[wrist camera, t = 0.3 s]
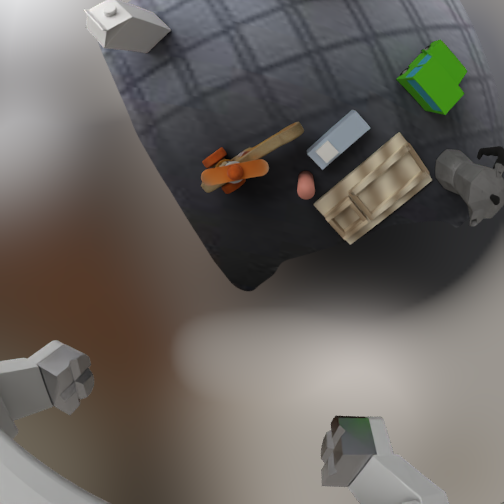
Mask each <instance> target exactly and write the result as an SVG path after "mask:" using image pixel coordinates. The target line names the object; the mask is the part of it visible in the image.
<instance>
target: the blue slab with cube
mask: <svg viewBox="0 0 504 504" xmlns="http://www.w3.org/2000/svg"><path fill="white" fill-rule="evenodd" d="M369 129H370V127H369V125H368V124H367V123H366V122H365V121H364V120H363V118H362V117H361V116H360V115H359V114H358V113H357V112H356V111H354V110H351V111H350V112H349V113H348V114H347V115H346V116H344V117H343V118H342V119H341V120H340V121H339V122H338V123H336V124H335V125H334V126H333V127H332V128H331V129H330V130H329V131H327V132H326V133H325V134H324V135H323V136H322V137H321V138H320V139H319V140H317V141H316V142H315V143H314V144H313V145H312V146H311V147H310V148H309V149H307V154H308V155H309V156H310V158H311V159H312V160H313V161H314V162H315V163H316V164H317V165H318V166H319V167H320V168H321V169H322V170H323V169H324V168H325V167H326V166H327V165H329V164H330V163H331V162H332V161H333V160H334V159H335V158H337V157H338V156H339V155H340V154H341V153H342V152H343V151H345V150H346V149H347V148H348V147H349V146H350V145H352V144H353V143H354V142H355V141H356V140H357V139H358V138H360V137H361V136H362V135H363V134H364V133H365V132H367V131H368V130H369Z"/></svg>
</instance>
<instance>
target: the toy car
mask: <svg viewBox="0 0 504 504" xmlns="http://www.w3.org/2000/svg"><path fill="white" fill-rule="evenodd" d="M421 51H422V52H421V54H420V55H419V56H418V57H417V58H416V59H415V60H414V61H413V62H412V63H411V64H410V65H409V66H408V67H409V68H407V69H405V70H404V71H403V72H402V73H401V74H400V76H399V77H398V78H397V79H396V80H397V81H398V82H399V83H400V84H401V85H402V86H403V87H404V88H405V89H406V90H407V91H408V92H409V93H410V94H411V95H412V97H413V98H414V99H415V100H416V101H417V102H418V103H419V104H420V105H421V107H422V108H423V109H424V110H425V111H429V112H434V113H439V114H443V115H446V114H447V113H448V111H449V110H450V109H451V108H452V107H453V106H454V105H455V104H456V103H457V101H458V100H459V99H460V98H461V97H462V96H463V95H464V92H463V91H462V90H461V88H460V87H459V86H458V85H459V83H460V82H461V80H462V79H463V77H464V76H465V74H466V73H467V70H466V69H465V67H464V66H463V65H462V64H461V62H460V61H459V60H458V59H457V58H456V56H455V55H454V54H453V53H452V52H451V51H450V49H449V48H448V47H447V46H446V45H445V44H444V43H443V42H442V41H441V40H438V41H434V42H432V43H431V44H430V45H429V46H428V47H426V48H425V49H423V50H421Z"/></svg>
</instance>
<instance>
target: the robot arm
mask: <svg viewBox="0 0 504 504" xmlns="http://www.w3.org/2000/svg"><path fill="white" fill-rule="evenodd" d="M90 365H91V363H90V359H89V357H88V356H87V355H86V354H84V353H82V352H80V351H77V350H75V349H74V348H72V347H70V346H68V345H65V344H63V343H61V342H59V341H57V340H56V341H52V342H50V343H49V344H47V345H46V346H45V347H43V348H42V349H40V350H39V351H38V352H36V353H35V354H33V355H32V356H31V357H29V358H28V359H26V358H19V359H13V360H6V361H0V504H111V503H109V502H107V501H105V500H102V499H101V498H99V497H97V496H95V495H93V494H91V493H90V492H88V491H86V490H84V489H82V488H81V487H79V486H77V485H76V484H74V483H72V482H71V481H69V480H67V479H66V478H64V477H63V476H61V475H59V474H58V473H57V472H55V471H54V470H52V469H51V468H49V467H48V466H46V465H45V464H44V463H42V462H41V461H39V460H38V459H37V458H35V457H34V456H33V455H32V454H30V453H29V452H28V451H26V450H25V449H24V448H23V447H21V446H20V445H19V444H18V443H17V442H15V441H14V440H13V438H14V437H15V436H16V435H17V434H18V429H17V427H16V425H15V424H14V422H13V421H14V420H17V419H20V418H23V417H26V416H28V415H31V414H34V413H37V412H39V411H42V410H45V409H48V408H51V407H53V406H54V407H56V408H58V409H60V410H61V411H63V412H65V413H67V414H69V415H71V414H72V412H74V411H75V409H76V408H77V407H78V406H79V405H80V399H83V398H86V397H88V395H89V394H90V393H91V391H92V388H93V386H94V377H93V374H92V372H91V371H90V369H89V367H90ZM52 405H53V406H52ZM321 459H322V460H323V462H324V463H325V465H324V466H323V468H322V486H339V487H340V486H341V487H348V489H349V490H350V491H351V493H352V494H353V495H354V497H355V498H356V499H357V500H358V502H359V503H360V504H449V502H448V498H447V495H446V492H444V491H443V490H442V489H441V488H439V487H438V486H437V485H435V484H434V483H433V482H432V481H431V480H429V479H428V478H427V477H426V476H424V475H423V474H422V473H421V472H419V471H418V470H417V469H416V468H414V467H413V466H412V465H411V464H409V463H408V462H407V461H406V460H405V459H404V458H402V457H401V456H400V455H399V454H394V453H393V449H392V446H391V442H390V439H389V436H388V432H387V429H386V426H385V422H384V419H383V418H382V417H355V416H335V418H333V420H332V422H331V430H330V431H329V432H327V433H326V435H325V437H324V439H323V443H322V448H321ZM501 504H504V502H503V503H501Z"/></svg>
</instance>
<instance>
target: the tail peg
mask: <svg viewBox="0 0 504 504" xmlns="http://www.w3.org/2000/svg"><path fill="white" fill-rule="evenodd" d="M297 192H298V195H299V196H300V197H301V198H302V199H310V198H312V197H313V196H314V194H315V187H314V178H313V175H312V173H311V172H309V171H302V172H301V173H300V174H299V176H298V188H297Z"/></svg>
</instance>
